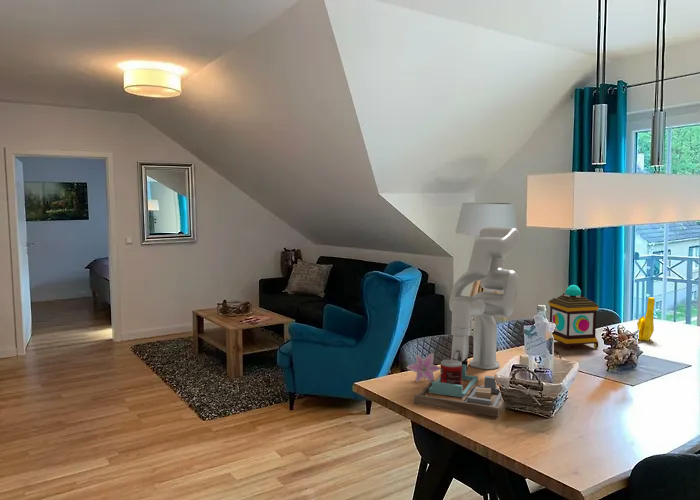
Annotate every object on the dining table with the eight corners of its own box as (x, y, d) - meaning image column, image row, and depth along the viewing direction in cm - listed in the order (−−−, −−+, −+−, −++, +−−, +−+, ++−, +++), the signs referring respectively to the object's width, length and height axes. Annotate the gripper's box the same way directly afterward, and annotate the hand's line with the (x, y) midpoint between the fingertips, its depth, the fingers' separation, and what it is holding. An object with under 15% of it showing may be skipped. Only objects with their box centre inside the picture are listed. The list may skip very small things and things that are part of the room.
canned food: (448, 386, 215) (448, 358, 214) (465, 391, 209) (466, 362, 208) (435, 391, 210) (436, 362, 209) (453, 396, 204) (453, 366, 203)
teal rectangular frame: (444, 375, 227) (444, 362, 227) (478, 379, 222) (478, 366, 221) (428, 392, 207) (429, 378, 207) (465, 397, 202) (465, 382, 201)
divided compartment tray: (431, 384, 217) (432, 377, 216) (508, 395, 205) (509, 387, 204) (413, 403, 197) (414, 395, 196) (497, 416, 185) (498, 408, 184)
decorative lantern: (602, 349, 267) (605, 287, 264) (565, 352, 263) (567, 288, 260) (577, 339, 287) (579, 281, 284) (541, 341, 282) (543, 282, 280)
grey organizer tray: (476, 388, 212) (477, 374, 211) (505, 392, 207) (505, 377, 207) (463, 408, 191) (463, 392, 191) (494, 413, 187) (494, 397, 187)
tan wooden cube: (476, 400, 200) (476, 387, 199) (490, 402, 198) (491, 388, 198) (475, 405, 195) (475, 391, 194) (490, 407, 194) (490, 393, 193)
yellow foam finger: (639, 335, 295) (641, 293, 293) (656, 337, 290) (658, 295, 288) (632, 342, 281) (634, 298, 279) (649, 344, 276) (651, 300, 274)
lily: (402, 380, 225) (404, 363, 220) (417, 363, 233) (419, 346, 228) (429, 394, 220) (431, 377, 214) (443, 376, 227) (446, 359, 222)
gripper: (457, 325, 231) (456, 366, 233) (446, 334, 215) (445, 378, 217) (475, 327, 228) (474, 368, 230) (465, 336, 212) (464, 381, 214)
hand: (460, 373), depth 223 cm, fingers open, 9 cm apart
